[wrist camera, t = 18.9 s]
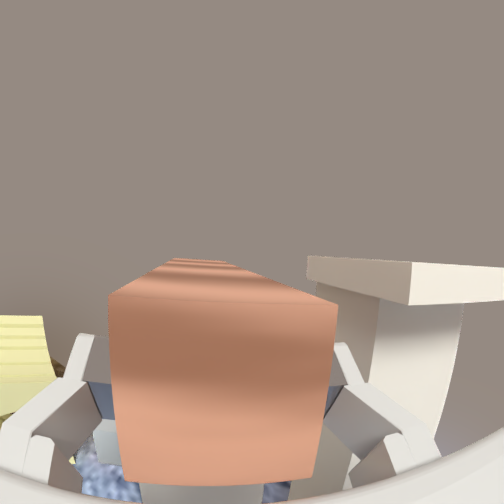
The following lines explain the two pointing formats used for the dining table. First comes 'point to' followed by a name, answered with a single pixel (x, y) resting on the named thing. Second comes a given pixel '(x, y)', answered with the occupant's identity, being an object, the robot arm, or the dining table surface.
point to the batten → (218, 375)
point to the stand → (365, 358)
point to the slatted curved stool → (22, 363)
